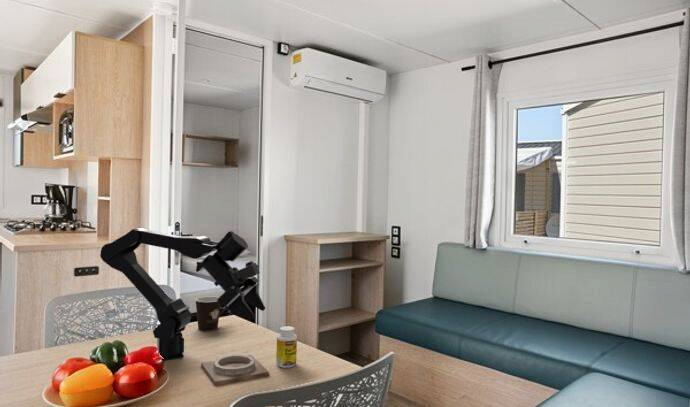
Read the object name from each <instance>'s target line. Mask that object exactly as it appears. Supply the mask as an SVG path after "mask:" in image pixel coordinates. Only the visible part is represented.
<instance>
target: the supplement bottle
mask: <svg viewBox="0 0 690 407" xmlns="http://www.w3.org/2000/svg"><path fill="white" fill-rule="evenodd" d="M297 343H298V335H297V334H295V327H293V326H288V325H287V326H286V325H285V326H280V328H279V334H277V336H276V353H275V354H276V355H275V356H276V357H275V359H276V360H275V363H276V366H277V367H280V368H284V369H287V368H293V367H294V366H296V365H297V348H298V344H297Z"/></svg>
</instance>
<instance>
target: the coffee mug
mask: <svg viewBox="0 0 690 407" xmlns="http://www.w3.org/2000/svg"><path fill="white" fill-rule="evenodd" d="M219 297H220V296H200V297H197V298H195V307H196V317H197V318H196V319H197V329H198V330H199V331H202V332H209V331H214V330H218V329H219V328H218V327H219V320H220V316H222V315H223V313H224V312H225V311H226V310H225V308H226V307H227V306H228V304H227V306H226V307H225V308H223V309H222V310H221V308H220V307H219V306H218V304H217V299H218V298H219Z"/></svg>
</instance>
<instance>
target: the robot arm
mask: <svg viewBox="0 0 690 407" xmlns="http://www.w3.org/2000/svg"><path fill="white" fill-rule="evenodd" d="M142 244H143V245H147V246H153V247H159V248H163V249H168V250H172V251H175V252H178V253H180V254H181V255H183V256H185V257H188V258H190V259H195V260H196V259H200V258H204V257H205V258H204V259H203V260H202V261H201V260H199V261H197V262H196V268H195V272H197V273H198V272H201V271H203V270H205V271H206V273H207V274H208V275H209V276H210V277H211V278H212V279H213V280H214V281H215V282H214V283H213V284H214V286H216V287H218V286H219V287H220V288H221V289H222V290H223V293H222V294H221V295H220V296H218V297H219V298H218V299H217V304H218V306H219V307H220V310H224V308H225V307H226V306H227V307H226V308H225V311H230V312H233V313H235V314H238V315H241V316H243V317H245V318H247V319H250V320H254V319H255V318H256V316H255V314H254V312H253V311H252V309H251V308H250V306H249V304H250V305H252V306H253V307H255V308H257V309H258V310H260V311H262V312H263V311H265V310H266V307H265V305H264V301H263V300H262V298H261V296H260V294H259V291H258V290H259V285H260V284H259V282H260V280H258V278H257V277H256V276H257V275H259V274H261V272H260V270H259V268H260V265H258V264H257V262H254V261H253V260H251V261H249V262H246V263H245V266H244V267H242V268H240V269H239V268H237V267H236V266H235V267H232V266H231V265H230V263H228V262H229V261H230V262H234V261H236V260H237V258H239V257H240V255H242V254H243V253H244V252H245V251H246V250H247V249H248V247H249V244H248V243H247V241H246V240H245V239H244V238H243V237H241V236H240V235H238V234H236V233H234V231H233V230H230V231H228V232H227V233H226V234H225V235H224V237H223V238H222V239H221V240H219V241H214V240H211V239H210V237H208V236H205V235H204V236H203V235H202V236H201V235H192V236H191V235H190V236H184V235H183V236H182V235H176V234H170V233H166V232H160V231H157V230H156V231H155V230H150V229H147V228H143V227H138V228H133V229H131V230H129V231H128V232H127V233H126V234H124V235H123V236H120V237H119V238H117V239H115V240H113V241H111V242H108V243H105V244H103V246H102V247H101V249H100V255H99V258H100V259H101V260H102V261H103V263H104V264H106V265H108V266H109V267H110V268H112V269H114V270H116V271H118V272H120V273H122V274H123V275H124V276H125V277H126V278H127V279H128V281H129V282H130V283H131V284H132V285H133V286H134V288H136V289H137V291H138V292H139V294H141V295H142V296H143V297H144V299H146V301H147V302H149V304H150V306H152V307H153V308H154V310H155V314H156V318H157V321H159V324H158V325H157V326H156V327H155V328H154V329H153V330H152V334H153V337H154V338H155V339H156V340H157V342H156V346H157V348H158V350H159V353H160V355H161V356H162V357H163V358H164V360H163V361H166V360H173V359H179V358H183V357H184V353H185V338H184V337H183V333H182V332H183V331H185V329H186V327H187V326H188V325H189V324H190V322H191V319H192V313H191V311H190V307H189V306H187V304H185V302H184V300H183V299H182V298H180V297H179V298H177V299H175V300H174V299H172V298H171V297H170V296H168V295H167V293H166V292H165V291H164V290H163V289H162V288H161V287H160V285H159V284H158V283H157V282H156V281H155V280H154V279H153V278H152V277H151V276H150V274H149V273H148V272H147V271H146V270H145V269H144V268H143V267H142V266H141V264H140V263H139V262H138V259H137V255H136V251H135V250H137V249H138V248H139V247H141V245H142ZM212 252H215V253H212ZM211 253H212V254H211ZM227 304H228V305H227ZM157 348H156V349H157Z"/></svg>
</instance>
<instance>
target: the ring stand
mask: <svg viewBox="0 0 690 407" xmlns="http://www.w3.org/2000/svg"><path fill="white" fill-rule="evenodd" d="M200 367H201V369H203V370H202V371H204V373H205V374H206V375H207V377H208V378H209V379H210V382H212V384H213V385H214V386H219V385H220V386H221V385H226V384H231V383H236V382H241V381H247V380H253V379H257V378H263V377H268V376H270V371H269V370H268V369H267V368H266V367H265V366H264V365H263V364H262V363H260V361H258V360H257V359H256V358H255V356H253V355H252V354H248V355H247V354H228V355H223V356H221V357H218V358H216V359H215V360H209V361H204V362H200Z"/></svg>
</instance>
